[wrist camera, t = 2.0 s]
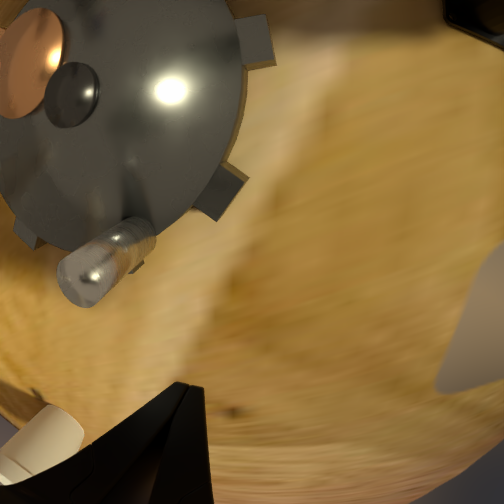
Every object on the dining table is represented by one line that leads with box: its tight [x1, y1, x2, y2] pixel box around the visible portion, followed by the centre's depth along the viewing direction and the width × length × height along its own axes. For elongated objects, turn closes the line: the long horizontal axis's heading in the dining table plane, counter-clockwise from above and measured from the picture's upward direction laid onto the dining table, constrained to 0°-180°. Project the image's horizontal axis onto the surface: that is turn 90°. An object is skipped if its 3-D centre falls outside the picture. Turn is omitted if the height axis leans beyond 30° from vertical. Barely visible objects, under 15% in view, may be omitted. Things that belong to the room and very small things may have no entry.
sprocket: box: [0, 0, 277, 308], centre depth 13 cm, size 23×23×8 cm
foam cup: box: [0, 405, 84, 485], centre depth 26 cm, size 10×9×13 cm
